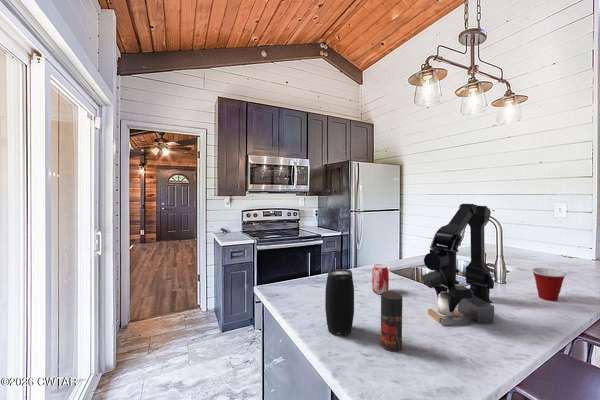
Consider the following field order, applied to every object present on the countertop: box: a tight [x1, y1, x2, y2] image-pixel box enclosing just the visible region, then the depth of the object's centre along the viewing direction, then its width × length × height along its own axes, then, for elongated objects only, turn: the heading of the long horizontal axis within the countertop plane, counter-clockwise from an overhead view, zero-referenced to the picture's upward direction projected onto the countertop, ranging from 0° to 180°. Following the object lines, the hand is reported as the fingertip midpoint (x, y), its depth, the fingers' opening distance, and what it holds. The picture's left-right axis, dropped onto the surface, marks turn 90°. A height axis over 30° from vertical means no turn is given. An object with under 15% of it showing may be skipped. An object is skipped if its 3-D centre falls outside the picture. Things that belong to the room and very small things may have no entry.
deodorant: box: [380, 291, 403, 353], centre depth 78 cm, size 6×6×15 cm
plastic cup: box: [531, 267, 567, 302], centre depth 113 cm, size 11×11×12 cm
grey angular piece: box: [427, 295, 495, 327], centre depth 97 cm, size 19×12×6 cm, turn 95°
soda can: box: [371, 263, 390, 295], centre depth 120 cm, size 7×7×12 cm
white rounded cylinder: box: [437, 291, 454, 317], centre depth 96 cm, size 5×5×7 cm
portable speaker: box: [324, 268, 355, 336], centre depth 87 cm, size 9×9×20 cm
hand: (446, 308), depth 96 cm, fingers closed on white rounded cylinder, 5 cm apart
